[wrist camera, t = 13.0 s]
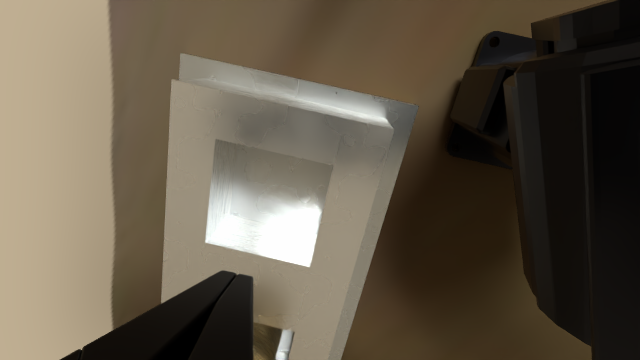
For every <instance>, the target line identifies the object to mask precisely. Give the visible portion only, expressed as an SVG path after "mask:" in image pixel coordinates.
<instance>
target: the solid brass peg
mask: <svg viewBox="0 0 640 360" xmlns="http://www.w3.org/2000/svg"><path fill="white" fill-rule="evenodd" d="M282 332H283V329H280V328H276V327H272V326H268V325H263V324H259V323H255V322H254V342H253V360H275V359H276V355H277V351H278V348H279V344H280V340H281V336H282Z"/></svg>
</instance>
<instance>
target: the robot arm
mask: <svg viewBox="0 0 640 360" xmlns="http://www.w3.org/2000/svg"><path fill="white" fill-rule="evenodd" d="M531 30H532V38H528V37H523V36H518V35H514V34H509V33H504V32H500V31H493V32H490V33H488V34H486V35H485V36H484V37H483V39H482V41H481V44H480V46H479V49H478V52H477V55H476V58H475V61H474V64H473V66H472V67H470V68H469V69H467V70H466V71H465V73H464V76H463V79H462V82H461V85H460V88H459V91H458V94H457V97H456V99H455V102H454V105H453V108H452V111H451V114H450V118H451V119H452V121H453V124H452V127H451V129H450V132H449V135H448V138H447V141H446V144H445V150H446V151H447V153H449V154H450V155H452V156H455V157H459V158H464V159H468V160H473V161H477V162H481V163H486V164H490V165H495V166H499V167H504V168H508V169H513V177H514V186H515V195H516V204H517V213H518V222H519V232H520V241H521V250H522V259H523V268H524V274H525V276H526V279H527V281H528V283H529V286H530V288H531V290H532V292H533V294H534V295H535V296H536V299H537V305H538V307H539V309H540V310H541V311H543V312H544V313H545V314H546V315H547V316H548V317H549V318H550V319H551V320H552V321H553V322H554V323H555V324H556V325H558V326H559V327H561V328H562V329H564V330H566V331H567V332H569V333H570V334H572V335H573V336H575V337H576V338H578V339H579V340H581V341H582V342H584V343H586V344H588V345H590V346H591V352H592V360H640V0H607V1H604V2H600V3H597V4H594V5H590V6H587V7H584V8H580V9H577V10H573V11H570V12H567V13H563V14H560V15H557V16H553V17H550V18H547V19H543V20H540V21H537V22H533V23H531ZM492 37H493V38H495V39H496V45H495V46H494V47H493V48H492V47H491V46H490V45H489V41H490V39H491V38H492ZM455 143H458V144H459V147H458V149H456V150H452V145H453V144H455ZM253 342H254V279H253V277H252V276H249V275H244V274H238V275H237V274H236V273H234V272H230V271H225V270H221V271H219V272H217V273H215V274H213V275H212V276H210V277H208V278H206V279H204V280H203V281H201V282H199V283H197V284H195V285H194V286H192V287H190V288H188V289H186V290H185V291H183V292H181V293H179V294H177V295H176V296H174V297H172V298H170V299H168V300H167V301H165V302H163V303H161V304H159V305H158V306H156V307H154V308H152V309H150V310H149V311H147V312H145V313H143V314H141V315H140V316H138V317H136V318H134V319H132V320H131V321H129V322H127V323H125V324H123V325H122V326H120V327H118V328H116V329H114V330H113V331H111V332H109V333H107V334H106V335H104V336H102V337H100V338H98V339H96V340H95V341H93V342H91V343H89V344H87V345H86V346H84V347H83V349H82V350H80V349H78V350H76V351H75V352H73V353H71V354H70V355H68V356H66V357H64V358H62V359H60V360H253Z"/></svg>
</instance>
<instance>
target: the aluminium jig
mask: <svg viewBox="0 0 640 360" xmlns="http://www.w3.org/2000/svg"><path fill="white" fill-rule="evenodd" d="M418 107H419V106H418V105H416V104H412V103H407V102H403V101H398V100H394V99H389V98H385V97H380V96H376V95H371V94H367V93H362V92H358V91H353V90H349V89H344V88H340V87H335V86H331V85H326V84H322V83H317V82H313V81H308V80H304V79H299V78H295V77H290V76H285V75H281V74H276V73H272V72H267V71H263V70H258V69H254V68H249V67H245V66H240V65H236V64H231V63H227V62H222V61H218V60H213V59H209V58H204V57H200V56H195V55H191V54H184V53H181V54H180V72H179V79H172V82H171V103H170V125H169V146H168V167H167V189H166V210H165V231H164V252H163V274H162V295H161V303H163V302H165V301H167V300H168V299H170V298H172V297H174V296H176V295H177V294H179V293H181V292H183V291H185V290H186V289H188V288H190V287H192V286H194V285H195V284H197V283H199V282H201V281H203V280H204V279H206V278H208V277H210V276H212V275H213V274H215V273H217V272H219V271H221V270H225V271H230V272H234V273H236V274H237V275H238V274H244V275H249V276H252V277H253V279H254V322H255V323H259V324H263V325H268V326H272V327H276V328H280V329H283V332H282V336H281V340H280V344H279V348H278V351H277V355H276V359H275V360H341V357H342V354H343V351H344V348H345V344H346V341H347V338H348V335H349V331H350V328H351V325H352V322H353V318H354V315H355V312H356V309H357V305H358V302H359V299H360V296H361V292H362V289H363V286H364V283H365V279H366V276H367V273H368V270H369V266H370V263H371V260H372V257H373V253H374V250H375V247H376V244H377V240H378V237H379V234H380V231H381V227H382V224H383V221H384V218H385V214H386V211H387V208H388V205H389V201H390V198H391V195H392V192H393V188H394V185H395V182H396V179H397V175H398V172H399V169H400V166H401V162H402V159H403V156H404V153H405V149H406V146H407V143H408V140H409V136H410V133H411V130H412V127H413V123H414V120H415V117H416V114H417V110H418Z"/></svg>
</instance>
